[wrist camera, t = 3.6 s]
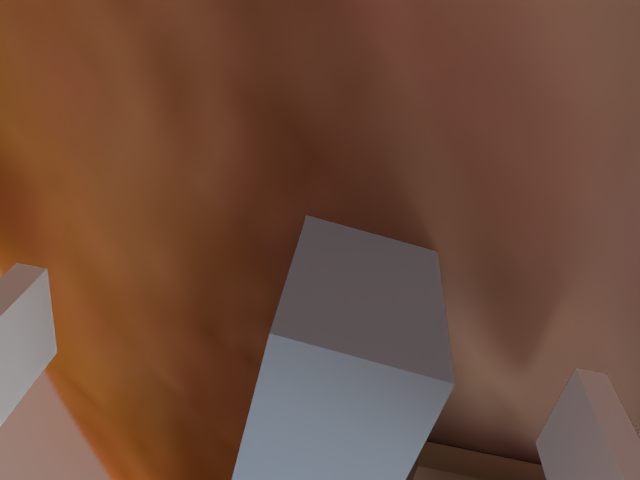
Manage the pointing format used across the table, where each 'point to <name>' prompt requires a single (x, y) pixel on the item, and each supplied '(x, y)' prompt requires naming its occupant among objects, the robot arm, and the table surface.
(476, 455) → the ridge stand
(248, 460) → the bar
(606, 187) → the table surface
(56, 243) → the table surface
